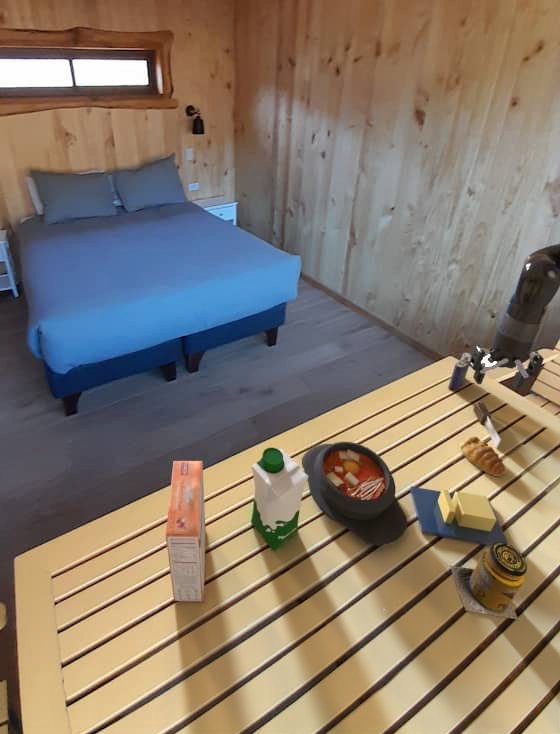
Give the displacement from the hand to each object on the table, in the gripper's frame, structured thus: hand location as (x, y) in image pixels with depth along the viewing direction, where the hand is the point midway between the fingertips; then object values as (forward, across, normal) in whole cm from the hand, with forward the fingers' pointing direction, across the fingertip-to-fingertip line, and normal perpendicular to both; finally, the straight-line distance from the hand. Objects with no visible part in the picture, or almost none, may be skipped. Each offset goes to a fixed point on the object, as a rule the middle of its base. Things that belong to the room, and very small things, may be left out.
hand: (496, 384), depth 102 cm
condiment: (+14, -16, -43) cm, 48 cm away
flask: (+14, -1, +16) cm, 21 cm away
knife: (+14, +1, -1) cm, 14 cm away
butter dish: (+14, -14, -29) cm, 35 cm away
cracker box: (+14, -70, -48) cm, 86 cm away
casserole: (+14, -37, -27) cm, 48 cm away
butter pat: (+13, -18, -29) cm, 36 cm away
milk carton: (+14, -54, -38) cm, 67 cm away
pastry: (+14, -4, -12) cm, 19 cm away
